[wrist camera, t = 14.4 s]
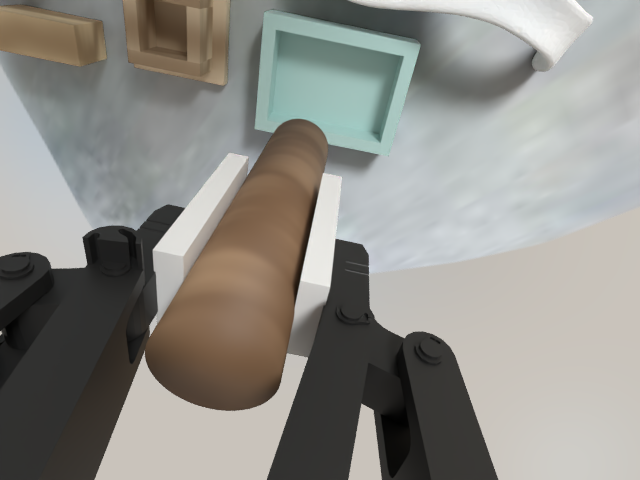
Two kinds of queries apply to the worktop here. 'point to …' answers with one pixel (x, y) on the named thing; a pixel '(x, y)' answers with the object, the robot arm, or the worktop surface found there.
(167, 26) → the socket block
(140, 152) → the worktop surface
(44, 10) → the block
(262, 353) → the dowel
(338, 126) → the tray
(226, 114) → the worktop surface
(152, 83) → the worktop surface
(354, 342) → the robot arm
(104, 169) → the worktop surface
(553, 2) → the spoon rest
